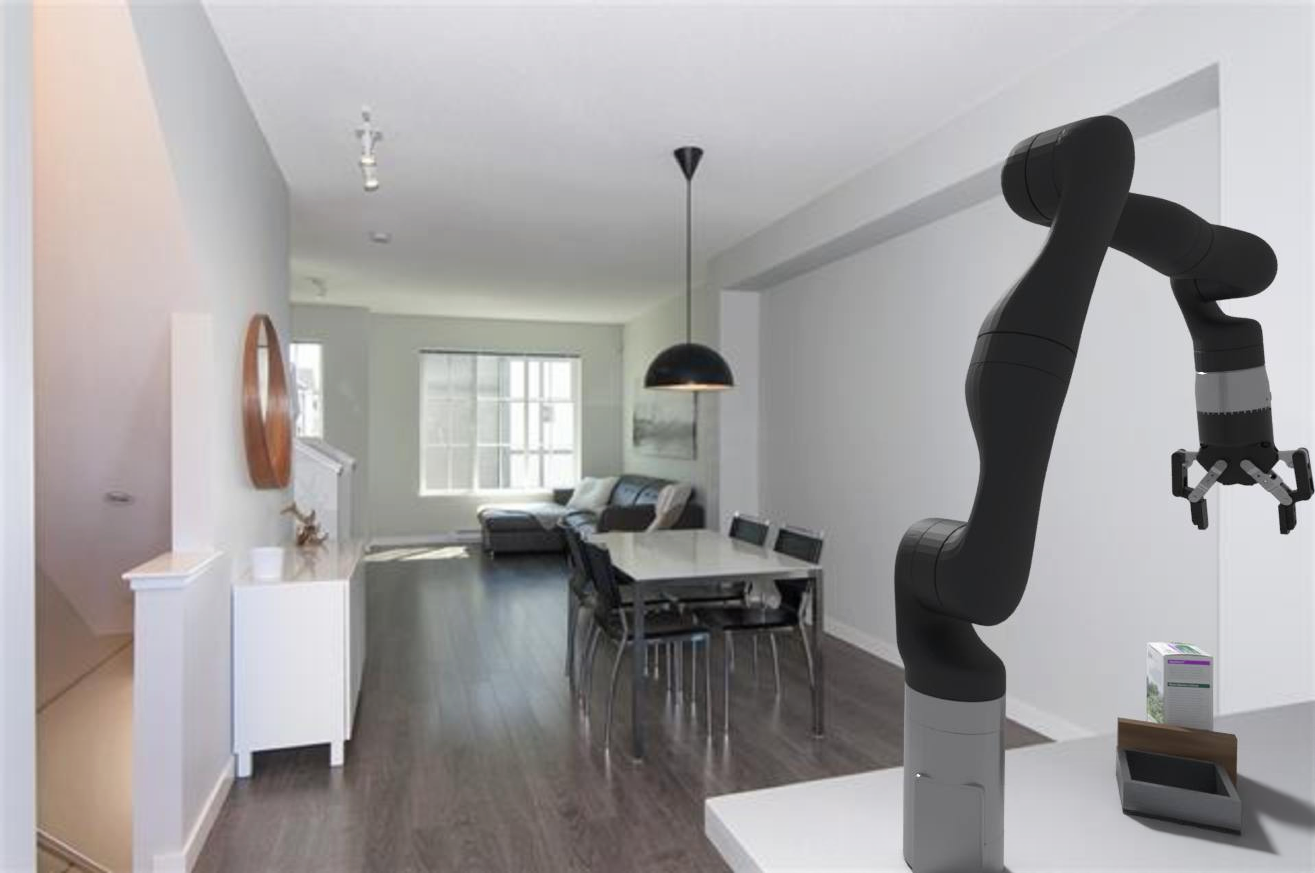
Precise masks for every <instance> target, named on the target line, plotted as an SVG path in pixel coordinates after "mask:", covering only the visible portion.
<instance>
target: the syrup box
mask: <svg viewBox="0 0 1315 873" xmlns="http://www.w3.org/2000/svg"><path fill="white" fill-rule="evenodd" d="M1145 720H1146V721H1147V722H1153V723H1160V724H1167V725H1174V726H1181V727H1187V728H1194V729H1201V730H1208V731H1214V657H1213V656H1212V655H1211V654H1209V653H1207V652H1206V651H1204V650H1202V649H1201V648H1199V647H1197V646H1196V645H1194V644H1191V643H1186V642H1185V643H1183V642H1173V641H1154V642H1153V641H1152V642H1151V641H1147V642H1146V718H1145Z"/></svg>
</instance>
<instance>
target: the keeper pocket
mask: <svg viewBox="0 0 1315 873" xmlns="http://www.w3.org/2000/svg"><path fill="white" fill-rule="evenodd" d="M1115 749H1116V750H1115V752H1116V753H1115V756H1116V757H1115V758H1116V759H1115V776H1116V777H1115V778H1116V782H1117V787H1118V788H1117V789H1118V793H1119V798H1120V804H1121V810H1122V813H1123V814H1128V815H1132V816H1137V817H1143V818H1149V819H1154V820H1158V821H1164V822H1168V823H1175V824H1179V825H1185V826H1190V827H1195V828H1199V829H1206V830H1211V831H1216V832H1221V833H1226V834H1231V835H1236V836H1242V801H1241V799H1240V796H1239V795H1238V792H1237V789H1236V790H1235V788H1234V786H1233V784H1232V782H1231V780H1230V778H1229V776H1228V774H1227V772H1226V770H1225V768H1224V766H1223V764H1222V763H1220V762H1213V761H1207V760H1201V759H1195V758H1189V757H1182V756H1176V755H1170V754H1164V753H1158V752H1152V751H1145V750H1139V749H1133V748H1127V747H1121V746H1117V745H1116V747H1115Z"/></svg>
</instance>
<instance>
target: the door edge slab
mask: <svg viewBox="0 0 1315 873" xmlns="http://www.w3.org/2000/svg"><path fill="white" fill-rule="evenodd" d="M1116 729H1117V730H1116V732H1117V733H1116V734H1117V736H1116V739H1117V740H1116V741H1117V742H1116V746H1121V747H1127V748H1133V749H1139V750H1145V751H1152V752H1158V753H1164V754H1170V755H1176V756H1182V757H1189V758H1195V759H1201V760H1207V761H1213V762H1220V763H1222V764H1223V766H1224V768H1225V770H1226V772H1227V774H1228V776H1229V778H1230V780H1231V782H1232V784H1233V786H1234V788H1235V790H1236V791H1237V785H1238V784H1237V783H1238V782H1237V779H1238V778H1237V776H1238V738H1237V736H1236V734H1235V733H1226V732H1220V731H1214V730H1213V731H1208V730H1201V729H1194V728H1187V727H1181V726H1174V725H1167V724H1160V723H1153V722H1147V721H1145V720H1138V719H1132V718H1126V717H1119V716H1117V728H1116Z"/></svg>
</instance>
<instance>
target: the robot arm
mask: <svg viewBox="0 0 1315 873" xmlns="http://www.w3.org/2000/svg"><path fill="white" fill-rule="evenodd" d="M1134 142H1135V141H1134V138H1133V134H1132V132H1131V130H1130V128H1129V126H1128V125H1127V124H1126V123H1125V121H1124V120H1122V119H1121V118H1119V117H1117V116H1114V115H1107V114H1102V115H1095V116H1090V117H1085V118H1082V119H1078V120H1076V121H1072V122H1069V123H1066V124H1063V125H1059V126H1057V127H1054V128H1051V129H1047V130H1045V131H1042V132H1039V133H1036V134H1034V135H1031V136H1030V137H1027V138H1024V139H1022V140H1021V141H1019V142H1017V143H1016V144H1015V145H1014V146H1012V148H1010V149H1009V151H1008V152H1007V153H1006V156H1005V158H1004V160H1003V162H1002V167H1001V170H1000V186H1001V192H1002V195H1003V198H1004V200H1005V202H1006V204H1007V206H1008V208H1010V210H1011V211H1012V212H1013V213H1014V214H1016V216H1018V217H1020V218H1021V219H1022V220H1025V221H1027V222H1030V223H1033V224H1035V225H1038V226H1041V227H1042V226H1043V227H1045V228H1049V230H1048V233H1047V235H1046V237H1045V239H1044V241H1043V242H1042V244H1041V246H1040V247H1039V249H1038V250H1037V252H1036V254H1035V255H1034V256H1033V258H1032V259H1031V261H1029V263H1028V264H1027V265H1026V267H1025V268H1024V269H1023V270H1022V271H1021V272H1020V273H1019V275H1018V276H1017V277H1015V279H1014V280H1013V281H1012V282H1011V284H1010V285H1009V286H1008V287H1007V289H1005V290H1004V291H1003V293H1001V295H1000V296H999V298H998V299H997V301H996V302H995V303H994V305H993V306H992V308H991V309H990V310H989V312H988V313H987V314H986V315H985V318H984V320H983V322H982V324H981V325H980V328H979V331H978V333H977V337H976V340H975V343H974V347H973V351H972V355H971V358H970V361H969V362H970V363H969V365H968V368H967V372H966V377H965V381H964V382H965V383H964V395H965V396H964V397H965V398H964V399H965V406H966V409H967V413H968V417H969V418H968V419H969V420H970V421H969V422H970V425H971V428H972V431H973V435H974V439H975V442H976V446H977V449H978V450H977V451H978V456H979V457H978V458H979V474H978V481H977V487H976V493H975V496H974V499H973V504H972V508H971V511H970V514H969V518H968V520H967V521H964V520H956V519H950V518H942V517H928V518H927V517H926V518H923V519H920V520H918V521H916V522H914V523H913V524H912V525H911V526H910V527H908V528H907V530H906V531H905V533H904V534H903V536H902V538H901V540H900V542H899V544H898V546H897V551H896V555H895V561H894V571H893V572H894V574H893V582H894V584H893V586H894V591H893V592H894V608H895V610H894V612H895V613H894V615H895V634H896V635H895V636H896V645H897V646H896V647H897V650H898V653H899V656H900V659H901V661H902V663H903V666H904V709H903V710H904V712H903V786H902V787H903V789H902V790H903V792H902V793H903V796H902V798H903V800H902V802H903V803H902V805H903V806H902V807H903V808H902V855H903V858H904V859H905V862H907V864H908V865H909V866H910V867H911V868H912V869H911V872H912V873H1004V869H1005V868H1004V867H1005V865H1004V864H1005V862H1004V861H1005V858H1004V857H1005V792H1006V791H1005V789H1006V788H1005V786H1006V784H1005V782H1006V776H1005V775H1006V724H1007V719H1006V718H1007V715H1006V714H1007V670H1006V665H1005V664H1004V661H1003V660H1002V658H1001V657H1000V656H998V655H997V653H995V652H994V650H992V649H991V648H990V647H989V646H988V645H987V644H986V643H985V642H984V641H983V640H982V638H981V637H980V636H979V635H978V633H977V630H976V629H975V628H974V626H973V625H977V626H983V627H993V626H998V625H999V624H1002V623H1003V622H1005V621H1007V620H1008V619H1009V618H1010V617H1011V616H1012V615H1013V614H1014V613H1015V611H1016V609H1017V608H1018V607H1019V605H1020V603H1021V601H1022V599H1023V598H1024V597H1023V596H1024V595H1025V592H1026V589H1027V585H1028V582H1029V577H1030V572H1031V569H1032V562H1033V556H1034V550H1035V544H1036V537H1037V530H1038V524H1039V516H1040V510H1041V503H1042V496H1043V491H1044V485H1045V481H1046V476H1047V470H1048V468H1049V462H1050V459H1051V454H1052V450H1053V446H1054V440H1055V436H1056V433H1057V429H1058V425H1059V421H1060V417H1061V413H1062V410H1063V406H1064V403H1065V400H1066V397H1067V394H1068V391H1069V387H1070V384H1071V380H1072V376H1073V373H1074V368H1075V364H1076V361H1077V358H1078V353H1079V347H1080V343H1081V339H1082V338H1081V337H1082V334H1083V330H1084V327H1085V326H1084V325H1085V322H1086V320H1087V314H1088V311H1089V307H1090V303H1091V300H1092V297H1093V293H1094V290H1095V288H1096V283H1097V280H1098V277H1099V273H1100V270H1101V267H1102V265H1103V262H1104V260H1105V256H1106V254H1107V252H1108V249H1109V248H1111V249H1113V250H1115V251H1118V252H1120V253H1123V254H1125V255H1127V256H1129V257H1131V258H1133V259H1134V260H1137V261H1139V262H1140V263H1142V264H1143V265H1145V266H1147V267H1148V268H1151V269H1152V270H1154V271H1155V272H1158V273H1159V274H1161V275H1163V276H1164V277H1165V276H1166V277H1168V278H1169V284H1170V287H1171V292H1172V294H1173V296H1174V298H1175V300H1176V303H1177V305H1178V307H1179V309H1180V311H1181V313H1182V316H1183V319H1184V321H1185V322H1184V323H1185V324H1186V327H1187V329H1188V332H1189V334H1190V337H1191V342H1192V345H1193V346H1192V347H1193V359H1194V369H1195V370H1194V371H1195V377H1194V379H1195V382H1194V397H1195V398H1194V399H1195V410H1196V420H1197V430H1198V442H1199V447H1198V451H1192V450H1191V451H1189V450H1188V451H1187V450H1186V449H1184V448H1179V449H1177V450H1176V451H1175V452H1173V453H1172V454H1171V455H1170V458H1171V460H1170V461H1171V462H1170V463H1171V464H1170V466H1171V494H1172V495H1173V496H1174V497H1176V498H1183V499H1186V500H1187V501H1188V502H1189V505H1190V516H1191V522H1192V525H1194V526H1197V529H1198V531H1201V530H1202V531H1205V530H1207V529H1208V528H1209V514H1208V505H1207V504H1208V503H1207V502H1208V501H1207V498H1205V495H1206V494H1207V493H1208V492H1209V490H1210V489H1211V488H1212V487H1213V486H1214V485H1215V483H1216V482H1217V483H1219V484H1222V486H1233V485H1241V486H1246V487H1247V486H1249V487H1250V486H1251V487H1254V485H1257V484H1259V485H1260V486H1261V487H1262V488H1263V489H1264V490H1265V491H1266V492H1267V493H1268V492H1269V493H1270V494H1271V495H1272V496H1273V497H1274V498H1275V499H1276V500H1277V501H1278V502H1279V504H1278V505H1277V509H1278V510H1277V513H1278V525H1279V534H1280V535H1285V536H1288V535H1289V534H1290V533H1291V531H1293V530H1294V529H1295V528H1296V526H1297V523H1298V519H1297V507H1296V503H1298V502H1302V501H1309V500H1310V499H1311V498H1312V496H1313V495H1315V485H1314V484H1315V483H1314V479H1313V478H1314V477H1313V472H1312V471H1313V469H1312V465H1311V464H1312V463H1311V458H1310V452H1309V450H1308V449H1307V448H1306V447H1298V448H1297V449H1292V450H1291V449H1289V450H1288V449H1287V450H1279V449H1278V448H1277V446H1276V445H1275V437H1274V424H1273V414H1272V413H1273V412H1272V410H1273V409H1272V400H1273V398H1272V396H1273V395H1272V391H1271V388H1270V387H1271V386H1270V381H1269V377H1268V373H1267V367H1266V356H1265V343H1264V334H1263V327H1262V325H1261V323H1260V322H1259V321H1258V320H1257V319H1254V318H1250V317H1249V318H1248V317H1239V316H1233V315H1228V314H1226V313H1224V311H1223V310H1222V309H1221V307H1220V305H1218V301H1225V300H1227V301H1228V300H1234V299H1235V300H1236V299H1245V298H1250V297H1254V296H1256V295H1260V294H1261V293H1263V292H1264V291H1265V290H1267V289H1268V288H1269V287H1270V286H1271V285H1272V283H1273V282H1274V281H1275V278H1276V276H1277V274H1278V268H1279V267H1278V266H1279V263H1278V258H1277V255H1276V252H1275V250H1274V249H1273V248H1272V247H1271V245H1270V244H1269V243H1268V242H1267V241H1266V240H1264V239H1263V238H1262V237H1261V236H1258V235H1256V234H1254V233H1251V232H1248V231H1246V230H1245V231H1244V230H1241V229H1239V228H1238V229H1237V228H1233V227H1230V226H1226V225H1220V224H1214V223H1211V222H1209V221H1207V220H1206V219H1204V218H1203V217H1201V216H1200V215H1199V214H1197V213H1195V212H1194V211H1192V210H1190V209H1189V208H1187V206H1184V205H1182V204H1180V203H1178V202H1175V201H1172V200H1169V199H1166V198H1162V197H1158V196H1154V195H1153V196H1152V195H1147V194H1142V193H1136V192H1130V190H1131V186H1132V183H1133V178H1134V174H1135V173H1134V172H1135V165H1136V151H1135V150H1136V149H1135V143H1134ZM1194 461H1197V463H1198V464H1199V465H1200V466H1201V468H1203V469H1204V470H1205V472H1206V474H1205V475H1204V476H1203V478H1202V479H1201V480H1200V481H1199V482H1198V483H1197V485H1196V487H1191V486H1189V479H1188V478H1189V475H1188V474H1189V473H1188V471H1189V470H1188V468H1190V467H1192V466H1193V464H1194ZM1279 461H1282V462H1284V463H1285V464H1286V467H1288V469H1289V468H1290V469H1293V472H1294V478H1295V483H1296V485H1295V486H1296V489H1292V488H1290V486H1289V485H1287V483H1286V482H1285V481H1284V480H1283V478H1282V477H1281V476H1280V475H1279V474H1278V472H1277V473H1276V471H1275V470H1274V469H1273V468H1274V467H1275V466H1276V465H1277V464H1278V462H1279Z"/></svg>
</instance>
